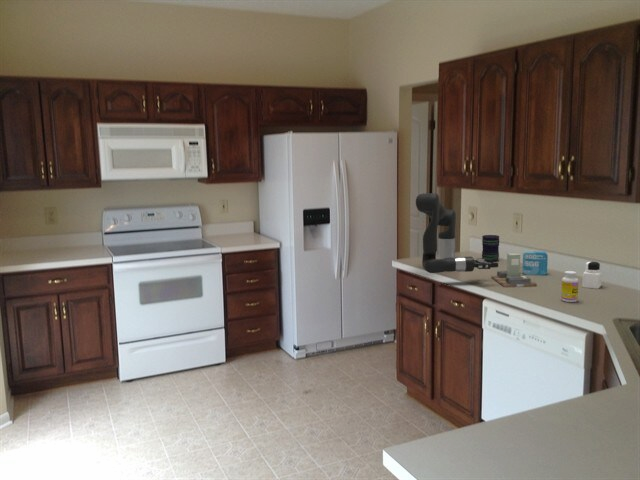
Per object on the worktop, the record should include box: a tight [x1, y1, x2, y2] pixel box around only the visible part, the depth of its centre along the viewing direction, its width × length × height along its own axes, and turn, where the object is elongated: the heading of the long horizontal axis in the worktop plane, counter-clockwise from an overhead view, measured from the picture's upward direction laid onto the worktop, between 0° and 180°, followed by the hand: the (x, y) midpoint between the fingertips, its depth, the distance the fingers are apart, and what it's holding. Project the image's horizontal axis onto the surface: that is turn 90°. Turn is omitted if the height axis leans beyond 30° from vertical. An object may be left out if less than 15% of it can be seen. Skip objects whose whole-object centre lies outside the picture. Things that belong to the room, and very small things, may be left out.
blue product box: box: [522, 250, 548, 276], centre depth 301 cm, size 12×4×12 cm, turn 73°
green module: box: [506, 252, 521, 277], centre depth 284 cm, size 5×5×13 cm
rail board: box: [490, 270, 538, 288], centre depth 285 cm, size 20×16×4 cm
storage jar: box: [481, 234, 500, 263], centre depth 338 cm, size 10×10×15 cm
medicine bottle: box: [582, 261, 602, 290], centre depth 271 cm, size 7×7×12 cm
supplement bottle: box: [560, 270, 579, 303], centre depth 248 cm, size 7×7×13 cm
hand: (495, 263), depth 284 cm, fingers open, 8 cm apart
